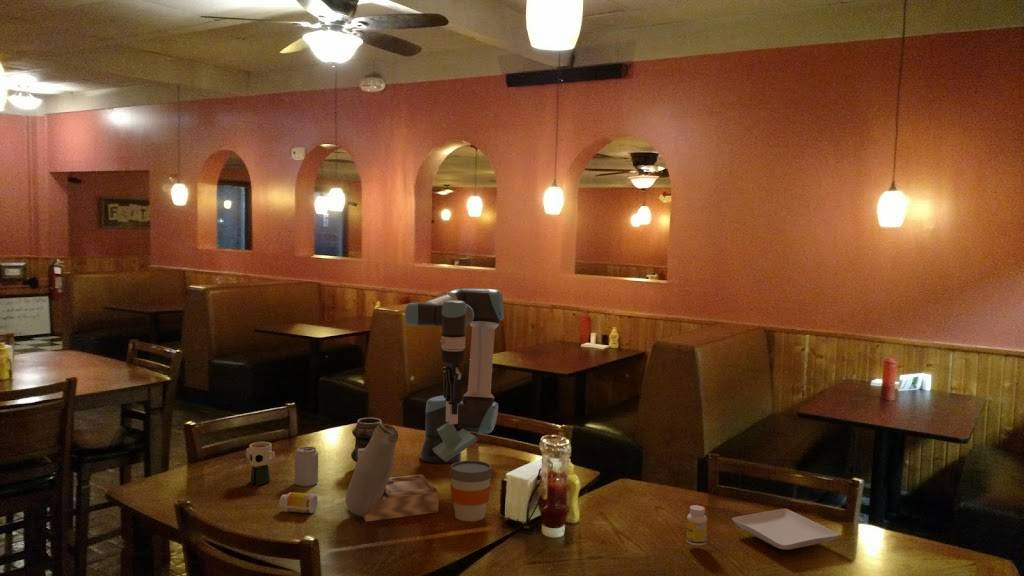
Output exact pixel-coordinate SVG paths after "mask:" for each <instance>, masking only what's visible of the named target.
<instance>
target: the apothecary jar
mask: <svg viewBox="0 0 1024 576" xmlns="http://www.w3.org/2000/svg"><path fill="white" fill-rule="evenodd" d="M380 424H383V422H382V420H381V419H380V418H377V417H363V418H359V419H358V420H357V421H356V425H355V426H354V427H352V431H351V433H352V435H353V437H354V438H355V444H354V449H352V451H351V454H350V458H351V459H352V460H353V461H354V462H356V463H357V461H358V449H360V448H366V446H367V445H368V444H369V442H370V439H371V437H372V434H373V431H374V430H375V428H376V427H377V426H378V425H380Z"/></svg>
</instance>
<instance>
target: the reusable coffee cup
mask: <svg viewBox="0 0 1024 576" xmlns="http://www.w3.org/2000/svg"><path fill="white" fill-rule="evenodd" d="M492 476H493V472H492V466H491V464H490V463H488V462H485V461H480V460H471V459H470V460H458V461H456V462H453V463H451V466H450V471H449V478H450V481H451V483H450V485H449V486H450V494H451V501H452V502H453V509H454V510H453V511H454V518H456V519H458V520H459V521H462V522H478V521H481V520H483V519H485V517H486V511H487V505H488V502H489V500H490V494H491V493H490V492H491V487H492V486H491V485H492V484H491V479H492Z"/></svg>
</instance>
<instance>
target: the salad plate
mask: <svg viewBox="0 0 1024 576" xmlns="http://www.w3.org/2000/svg"><path fill="white" fill-rule="evenodd" d="M731 521H733V523H734V524H735V525H736V526H738V527H740V528H741V529H742V530H744V531H747V532H748V533H749V534H751V535H752V536H754V537H756V538H758V539H760V540H762V541H764V542H765V543H767V544H769V545H771V546H773V547H775V548H777V549H780V550H786V551H787V550H795V549H799V548H804V547H805V548H806V547H809V546H813V545H817V544H821V543H822V544H823V543H827V542H831V541H834V540H835V539H837V538H838V537H839V536H840V534H839V533H838V532H836V531H834V530H832V529H830V528H827V527H826V526H823V525H822V524H819V523H818V522H816V521H813V520H811V519H810V518H807V517H805V516H804V515H801V514H799V513H798V512H794V511H792V510H790V509H788V508H779V509H774V510H773V509H772V510H768V511H762V512H757V513H751V514H745V515H739V516H734V517H732V518H731Z"/></svg>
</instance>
